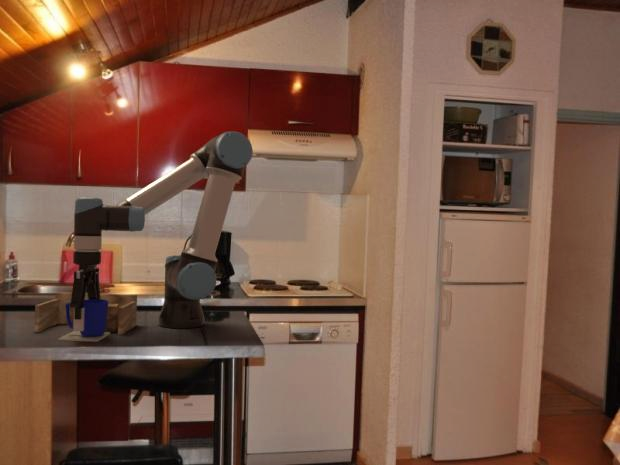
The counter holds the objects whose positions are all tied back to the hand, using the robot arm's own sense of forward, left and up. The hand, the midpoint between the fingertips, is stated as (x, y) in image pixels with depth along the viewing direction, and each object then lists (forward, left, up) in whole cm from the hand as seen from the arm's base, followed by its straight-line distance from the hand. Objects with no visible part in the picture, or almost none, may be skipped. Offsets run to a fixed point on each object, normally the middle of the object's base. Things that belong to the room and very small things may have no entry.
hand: (85, 327), depth 170 cm
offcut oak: (-3, -12, +1) cm, 12 cm away
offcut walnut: (-3, -12, -3) cm, 13 cm away
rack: (+4, -13, -3) cm, 14 cm away
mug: (0, 0, -2) cm, 2 cm away
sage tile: (0, 0, -3) cm, 3 cm away
